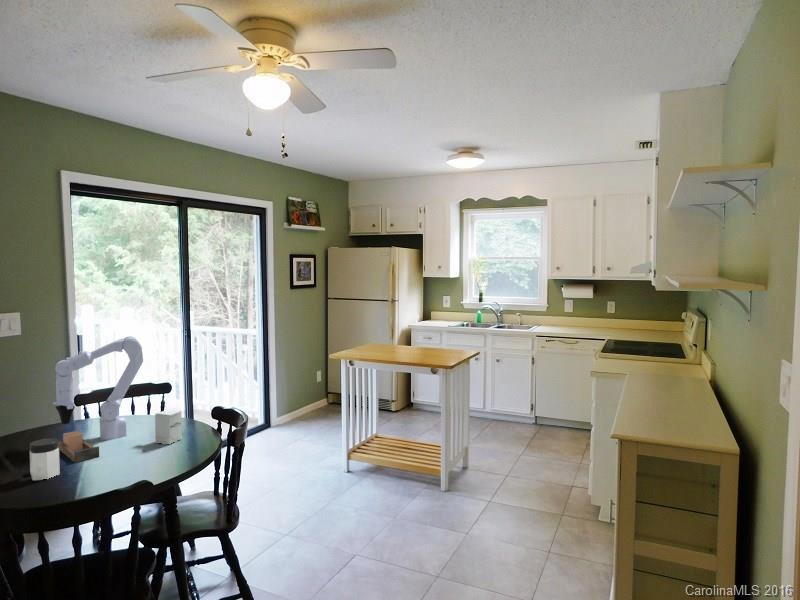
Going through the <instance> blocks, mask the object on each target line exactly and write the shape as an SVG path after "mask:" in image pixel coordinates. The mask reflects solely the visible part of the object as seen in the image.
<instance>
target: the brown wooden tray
mask: <svg viewBox="0 0 800 600" xmlns="http://www.w3.org/2000/svg"><path fill="white" fill-rule="evenodd" d="M82 440H83V449H81V450H76V451H72V450H71V449H70V448H68V447H67V446H66V445H65V444H63V442H62V441H58V448H59V452H61V453H62V454H64V455H65V456H66V457H68V458H69V460H71V461H72V462H74V464H76V463H80V462H84V461H89V460H93V459H97V458H100V446H93V445H91V444H90V443H89V442H87V441H86V440H84V438H82ZM100 460H102V459H99V461H100ZM95 461H98V460H95ZM74 466H77V465H74Z"/></svg>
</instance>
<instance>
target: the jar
mask: <svg viewBox="0 0 800 600" xmlns="http://www.w3.org/2000/svg"><path fill="white" fill-rule="evenodd" d="M58 442H59V440H58V438H53V437H52V438H50V437H49V438H43V439H42V438H41V439H37V440H34V441H32V442H30V443H29V472H30V478H31V480H32V481H42V480H43V479H47V480H50V479H51V477H52V478H55V477H56V475H57V476H59V475H60V474H61V471H60V470H61V469H60V450H59V448H58ZM54 476H55V477H54ZM49 478H50V479H49ZM43 481H44V480H43Z"/></svg>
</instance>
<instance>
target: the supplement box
mask: <svg viewBox="0 0 800 600" xmlns="http://www.w3.org/2000/svg"><path fill="white" fill-rule="evenodd" d="M154 414H155V415H154V417H155V420H154V421H155V423H154V424H155V429H154V430H155V444H158V443H163V444H162V445H165V444H170V445H172V444H174V443H173V442H175V441H177V440H179V439H182V435H183V433H182V410H177V409H166V410H162V411H160V412H157V413H154ZM182 440H183V439H182ZM177 442H178V441H177ZM171 443H172V444H171ZM175 443H176V442H175Z"/></svg>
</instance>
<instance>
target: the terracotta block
mask: <svg viewBox="0 0 800 600" xmlns="http://www.w3.org/2000/svg"><path fill="white" fill-rule="evenodd" d="M82 439H83V433H82V432H80V431H78V430H75V431H70V432H65V433H62V440H63V442H62V443H63V444H65V445H66V446H67V447H68V448H70V449H71V450H72V451H79V450H83V440H84V439H83V440H82Z"/></svg>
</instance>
